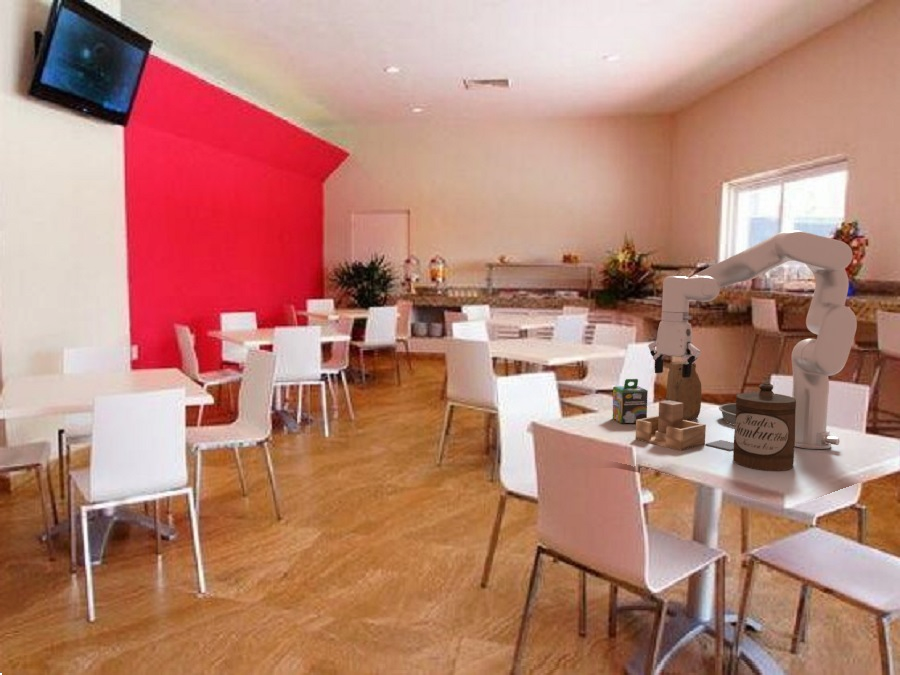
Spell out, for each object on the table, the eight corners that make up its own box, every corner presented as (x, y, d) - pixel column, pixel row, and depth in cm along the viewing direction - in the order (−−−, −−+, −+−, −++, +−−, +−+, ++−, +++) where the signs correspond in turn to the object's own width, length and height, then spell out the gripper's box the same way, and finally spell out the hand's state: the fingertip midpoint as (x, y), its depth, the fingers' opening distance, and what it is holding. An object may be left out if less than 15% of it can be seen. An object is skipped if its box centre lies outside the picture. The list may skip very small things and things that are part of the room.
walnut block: (682, 432, 205) (683, 403, 204) (672, 434, 202) (673, 404, 201) (668, 429, 209) (669, 400, 208) (657, 431, 206) (659, 402, 205)
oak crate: (704, 444, 203) (705, 424, 202) (680, 450, 196) (681, 430, 195) (659, 433, 216) (660, 415, 215) (635, 439, 209) (636, 419, 208)
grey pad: (745, 446, 201) (745, 445, 201) (730, 450, 196) (730, 449, 196) (720, 441, 207) (720, 439, 207) (705, 445, 202) (705, 443, 202)
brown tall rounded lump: (672, 420, 234) (674, 363, 232) (663, 416, 242) (665, 360, 240) (702, 420, 235) (705, 363, 233) (693, 415, 243) (695, 360, 241)
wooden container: (726, 464, 183) (730, 383, 180) (741, 452, 194) (745, 376, 192) (786, 474, 174) (791, 389, 171) (798, 462, 185) (803, 382, 183)
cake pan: (703, 420, 237) (703, 407, 237) (746, 412, 250) (746, 400, 250) (768, 434, 217) (769, 420, 216) (811, 425, 230) (812, 412, 229)
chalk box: (636, 417, 239) (638, 376, 237) (647, 423, 230) (649, 380, 228) (611, 418, 238) (612, 376, 236) (621, 424, 229) (622, 380, 227)
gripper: (708, 319, 197) (705, 377, 199) (658, 315, 211) (656, 370, 213) (692, 320, 193) (689, 380, 195) (643, 316, 207) (640, 372, 209)
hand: (672, 374), depth 204 cm, fingers open, 9 cm apart
